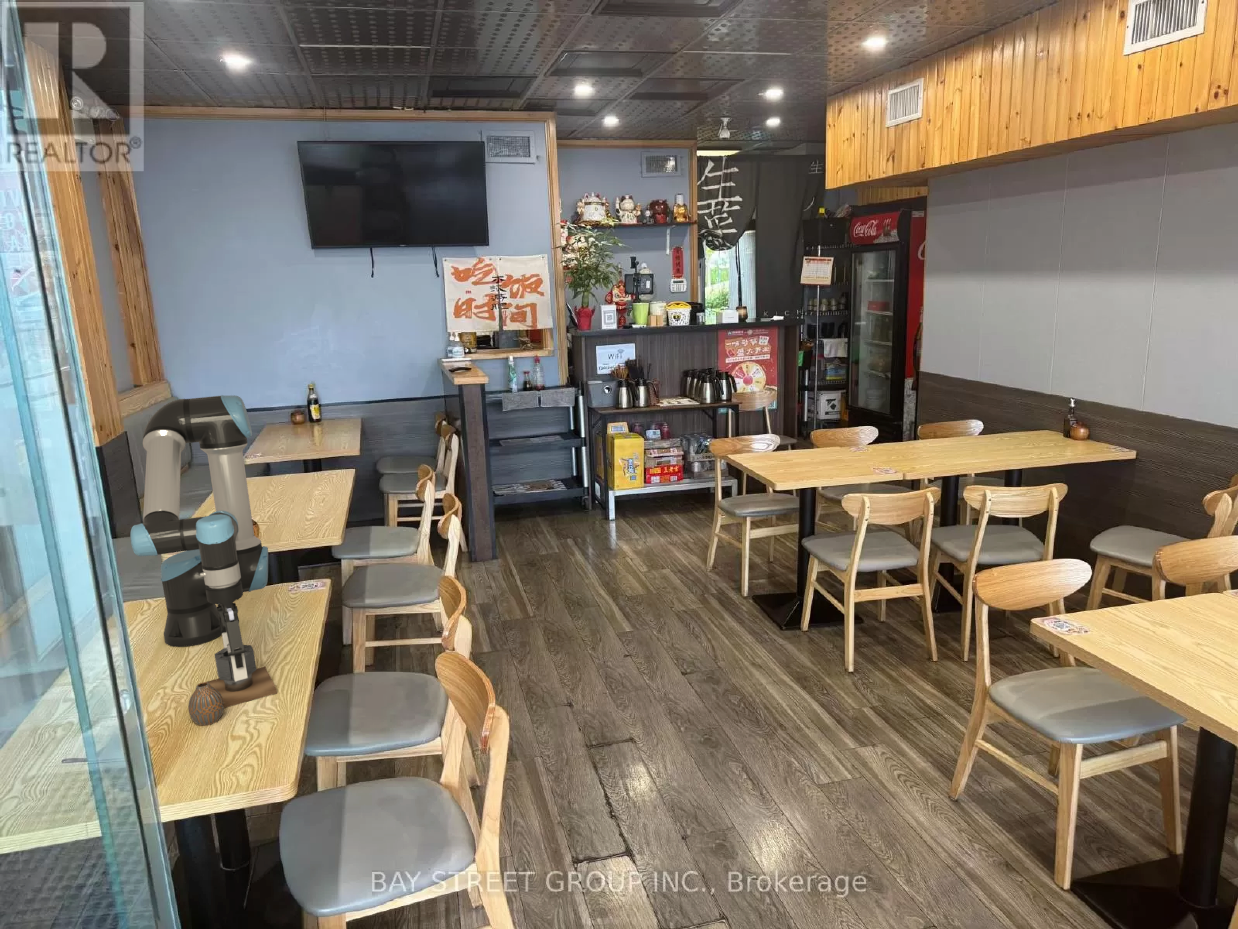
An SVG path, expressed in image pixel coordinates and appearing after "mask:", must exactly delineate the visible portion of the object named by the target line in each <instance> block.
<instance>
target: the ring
mask: <svg viewBox="0 0 1238 929" xmlns="http://www.w3.org/2000/svg"><path fill="white" fill-rule="evenodd" d="M243 647H244V649H245V653H244V657H245V664H246V670H247V676H249V675H250V674H252V673H253V672H254V671H256V669H257V665H256V658H255V656H256V655H255V651H254V650H255V649H254V648H253V645H250V644H243ZM214 660H215V666H216V673H217V676H218V679H220V680H231V681H232V680H234V674H233V668H232V662H231V657H229V656H228V650H227V648H224V647H223V648H222V649H220V650H219V651H217V652H216V653H214Z"/></svg>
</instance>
